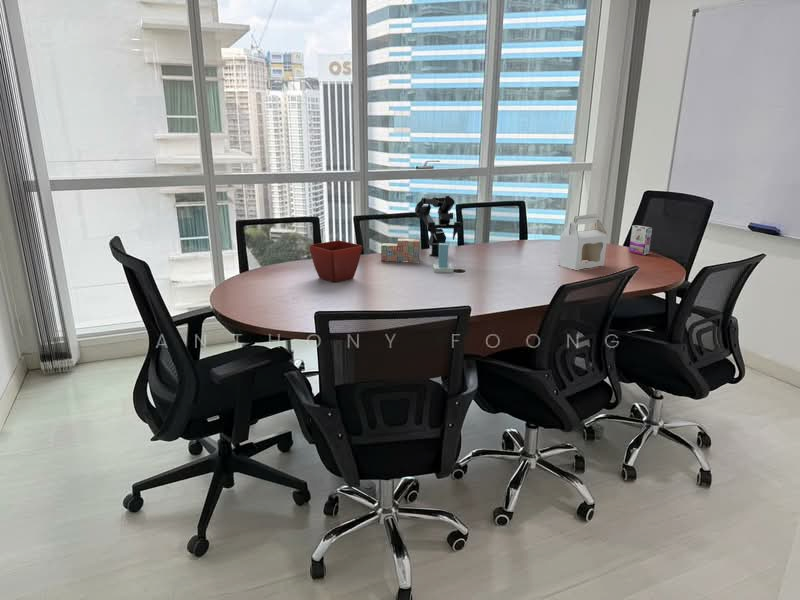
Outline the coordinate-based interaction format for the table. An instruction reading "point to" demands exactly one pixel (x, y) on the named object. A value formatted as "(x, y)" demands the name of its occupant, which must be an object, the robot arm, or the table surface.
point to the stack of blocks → (401, 250)
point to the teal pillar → (443, 255)
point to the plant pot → (335, 260)
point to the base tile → (442, 268)
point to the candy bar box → (640, 239)
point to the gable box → (589, 239)
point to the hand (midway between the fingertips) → (445, 239)
